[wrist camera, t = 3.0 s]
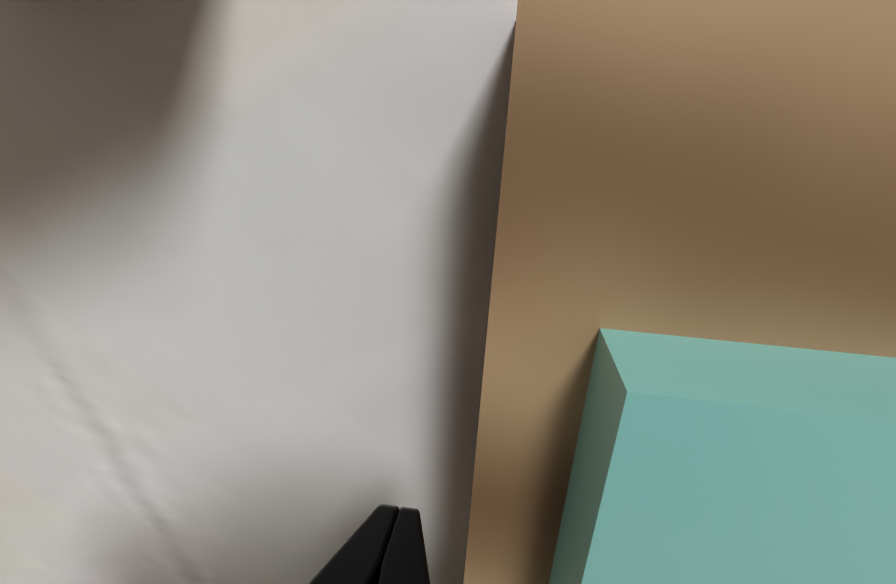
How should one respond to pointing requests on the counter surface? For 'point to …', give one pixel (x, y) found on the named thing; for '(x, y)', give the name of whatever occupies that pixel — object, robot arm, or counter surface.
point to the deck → (674, 216)
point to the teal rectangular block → (731, 466)
